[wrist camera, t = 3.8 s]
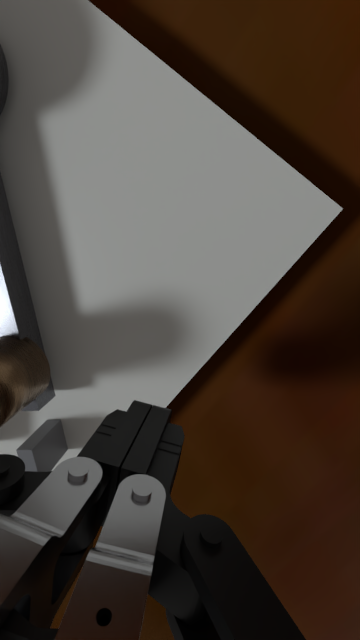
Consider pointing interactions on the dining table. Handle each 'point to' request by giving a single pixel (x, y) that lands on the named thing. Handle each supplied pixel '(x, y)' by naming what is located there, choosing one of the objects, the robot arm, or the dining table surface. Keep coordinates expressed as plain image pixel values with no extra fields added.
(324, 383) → the dining table surface
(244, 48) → the dining table surface
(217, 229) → the dial board
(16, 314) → the lever
